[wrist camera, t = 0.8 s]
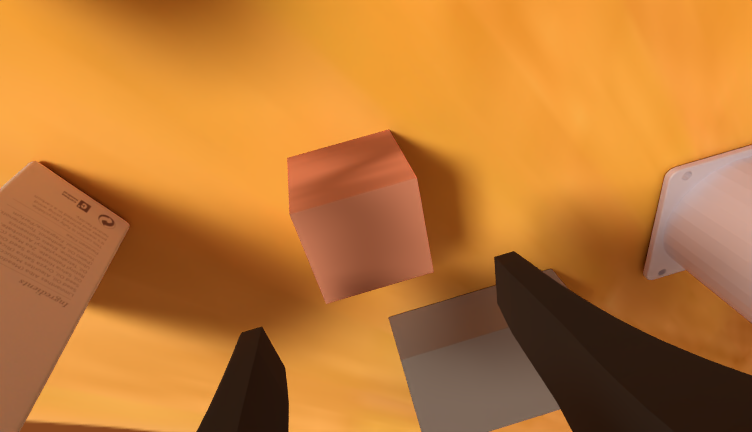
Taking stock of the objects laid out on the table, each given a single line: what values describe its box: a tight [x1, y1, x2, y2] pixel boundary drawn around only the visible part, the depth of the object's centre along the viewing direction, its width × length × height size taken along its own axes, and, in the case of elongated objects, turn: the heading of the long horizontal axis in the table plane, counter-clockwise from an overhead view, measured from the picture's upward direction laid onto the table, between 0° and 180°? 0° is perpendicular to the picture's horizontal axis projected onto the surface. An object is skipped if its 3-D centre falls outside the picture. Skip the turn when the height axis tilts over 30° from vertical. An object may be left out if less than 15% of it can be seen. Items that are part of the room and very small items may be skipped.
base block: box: [389, 269, 568, 432], centre depth 26 cm, size 10×10×3 cm
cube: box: [287, 130, 434, 304], centre depth 17 cm, size 4×4×4 cm
